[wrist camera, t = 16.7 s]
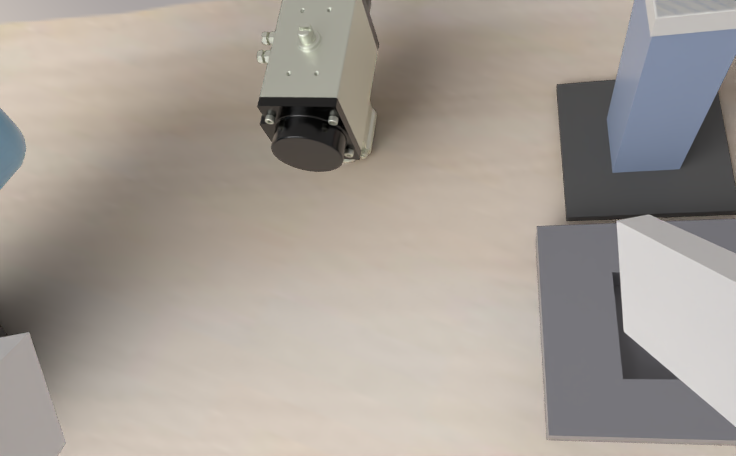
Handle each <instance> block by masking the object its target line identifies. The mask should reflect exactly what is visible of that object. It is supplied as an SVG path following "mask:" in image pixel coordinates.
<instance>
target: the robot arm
mask: <svg viewBox="0 0 736 456" xmlns="http://www.w3.org/2000/svg"><path fill="white" fill-rule="evenodd" d="M25 152H26V144H25V139H24V136H23V134H22V133H21V131H20V130H19V128H18V127H17V126H16V125H15V123H14V122H13V121H12V120H11V119H10V118H9V117H8V116H7V115H6V113H5V112H4V111H3V110H2V109H1V108H0V189H1V188H2V187H3V186H4V185H5V184H6V182H7V181H8V180H9V179H10V178H11V177H12V176H13V174H14V173H15V172H16V171H17V170H18V169H19V168H20V166H21V165H22V162H23V160H24V156H25ZM616 222H617V237H618V252H619V268H620V283H621V298H622V313H623V329H624V332H625V333H626V334H627V335H628V336H629V337H631V338H632V339H633V340H634V341H635V342H636V343H638V344H639V345H640V346H641V347H642V348H644V349H645V350H646V351H647V352H648V353H649V354H651V355H652V356H653V357H654V358H655V359H656V360H658V361H659V362H660V363H661V364H662V365H664V366H665V367H666V368H667V369H668V370H669V371H671V372H672V373H673V374H674V375H675V376H676V377H678V378H679V379H680V380H681V381H682V382H683V383H685V384H686V385H687V386H688V387H689V388H691V389H692V390H693V391H694V392H695V393H696V394H698V395H699V396H700V397H701V398H702V399H703V400H705V401H706V402H707V403H708V404H709V405H710V406H712V407H713V408H714V409H715V410H716V411H718V412H719V413H720V414H721V415H722V416H723V417H725V418H726V419H727V420H728V421H729V422H730V423H732V424H733V425H734V426H735V427H736V253H734V252H731V251H729V250H727V249H725V248H723V247H720V246H718V245H716V244H714V243H711V242H709V241H707V240H705V239H703V238H700V237H698V236H696V235H694V234H692V233H689V232H687V231H685V230H683V229H680V228H678V227H676V226H674V225H672V224H669V223H667V222H665V221H663V220H660V219H658V218H656V217H654V216H652V215H649V214H648V215H643V216H638V217H632V218H627V219H622V220H617V221H616ZM65 443H66V442H65V438H64V435H63V432H62V429H61V426H60V423H59V420H58V417H57V414H56V411H55V408H54V405H53V402H52V399H51V396H50V393H49V390H48V387H47V384H46V381H45V378H44V375H43V372H42V369H41V366H40V363H39V360H38V357H37V354H36V351H35V348H34V345H33V342H32V339H31V336H30V333H29V332H27V333H21V334H16V335H11V336H7V334H6V333H5V331H4V330H3V328H2V327H1V326H0V456H58V455H59V453H60V452H61V450H62V448H63V447H64V445H65Z"/></svg>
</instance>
